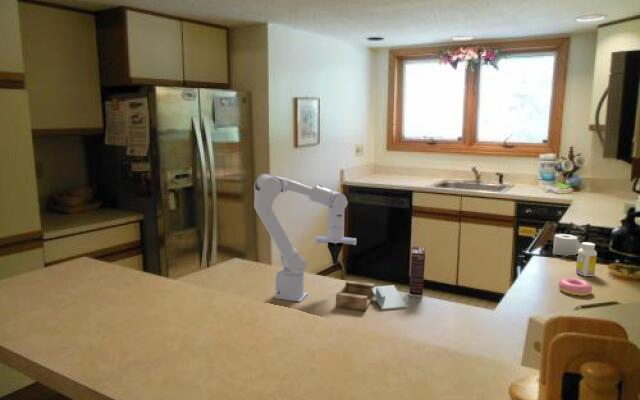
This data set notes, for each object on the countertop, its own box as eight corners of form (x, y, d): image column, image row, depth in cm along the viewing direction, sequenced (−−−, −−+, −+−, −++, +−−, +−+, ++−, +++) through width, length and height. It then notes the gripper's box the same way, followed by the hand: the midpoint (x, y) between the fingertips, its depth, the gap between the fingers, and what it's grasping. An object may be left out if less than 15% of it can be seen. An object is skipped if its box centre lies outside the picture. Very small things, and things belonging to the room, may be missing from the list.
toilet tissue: (587, 256, 219) (589, 238, 217) (562, 258, 215) (564, 239, 214) (572, 250, 227) (574, 233, 226) (548, 252, 224) (550, 234, 222)
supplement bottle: (594, 273, 195) (598, 243, 193) (593, 278, 190) (597, 246, 187) (576, 270, 199) (579, 240, 197) (574, 275, 193) (578, 244, 191)
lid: (382, 310, 157) (383, 303, 156) (370, 288, 167) (371, 281, 166) (406, 308, 160) (407, 300, 158) (393, 286, 169) (394, 280, 168)
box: (335, 307, 159) (336, 294, 158) (346, 292, 172) (347, 280, 172) (365, 311, 156) (366, 298, 155) (374, 295, 169) (374, 283, 168)
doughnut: (598, 294, 174) (599, 283, 173) (580, 299, 169) (581, 288, 168) (569, 284, 183) (570, 274, 183) (551, 289, 178) (552, 279, 177)
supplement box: (423, 298, 168) (425, 254, 165) (408, 296, 169) (411, 253, 166) (422, 289, 176) (425, 247, 173) (409, 287, 177) (411, 246, 174)
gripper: (313, 227, 166) (313, 265, 169) (355, 229, 164) (354, 267, 167) (316, 222, 173) (316, 259, 176) (357, 224, 171) (356, 261, 174)
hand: (335, 263), depth 172 cm, fingers closed
